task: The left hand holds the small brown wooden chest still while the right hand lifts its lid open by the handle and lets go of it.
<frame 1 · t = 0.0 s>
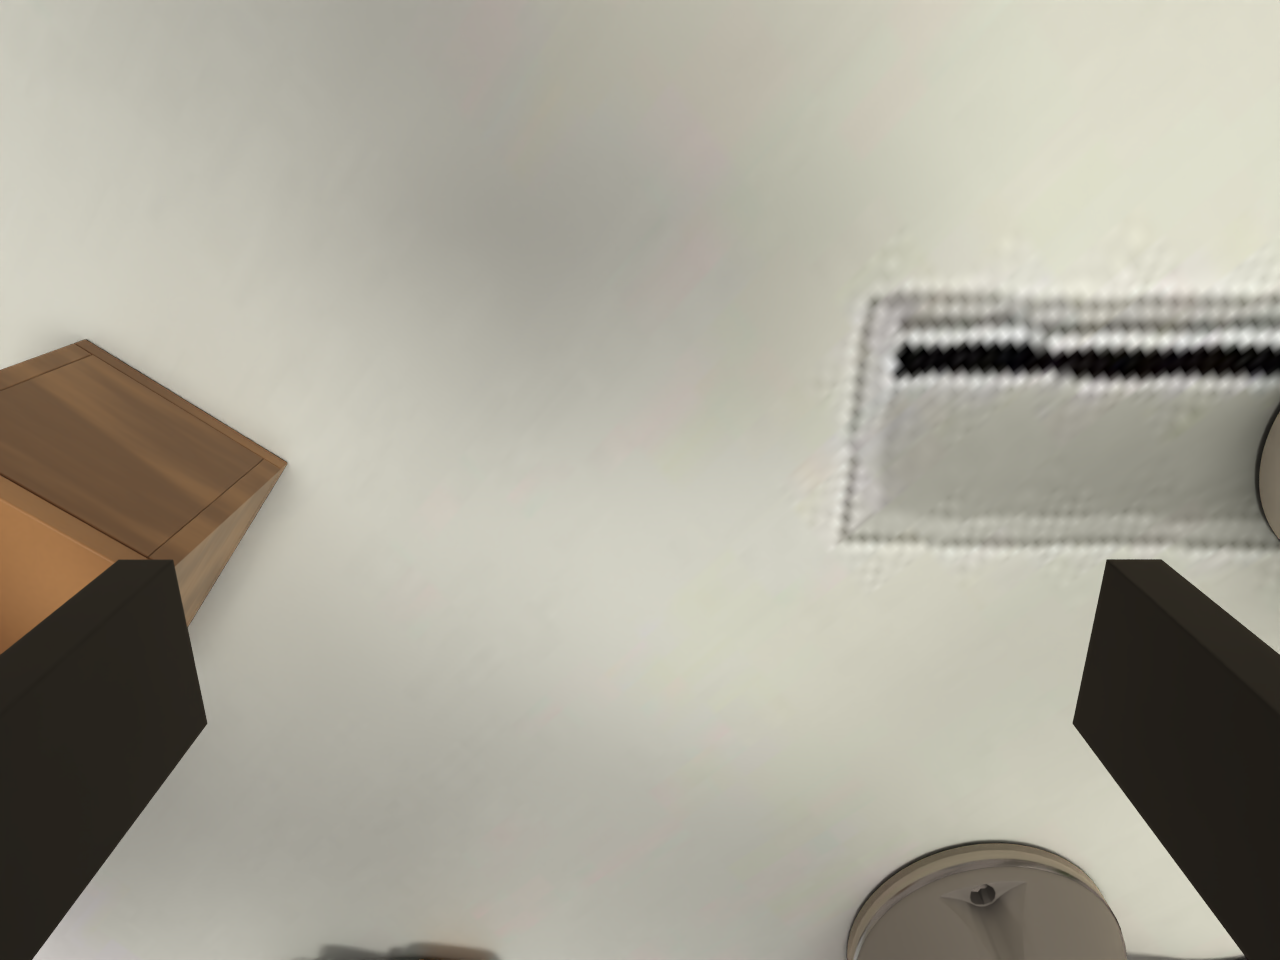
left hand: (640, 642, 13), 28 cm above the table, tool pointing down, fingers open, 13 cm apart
chest: (130, 509, 42), on the table
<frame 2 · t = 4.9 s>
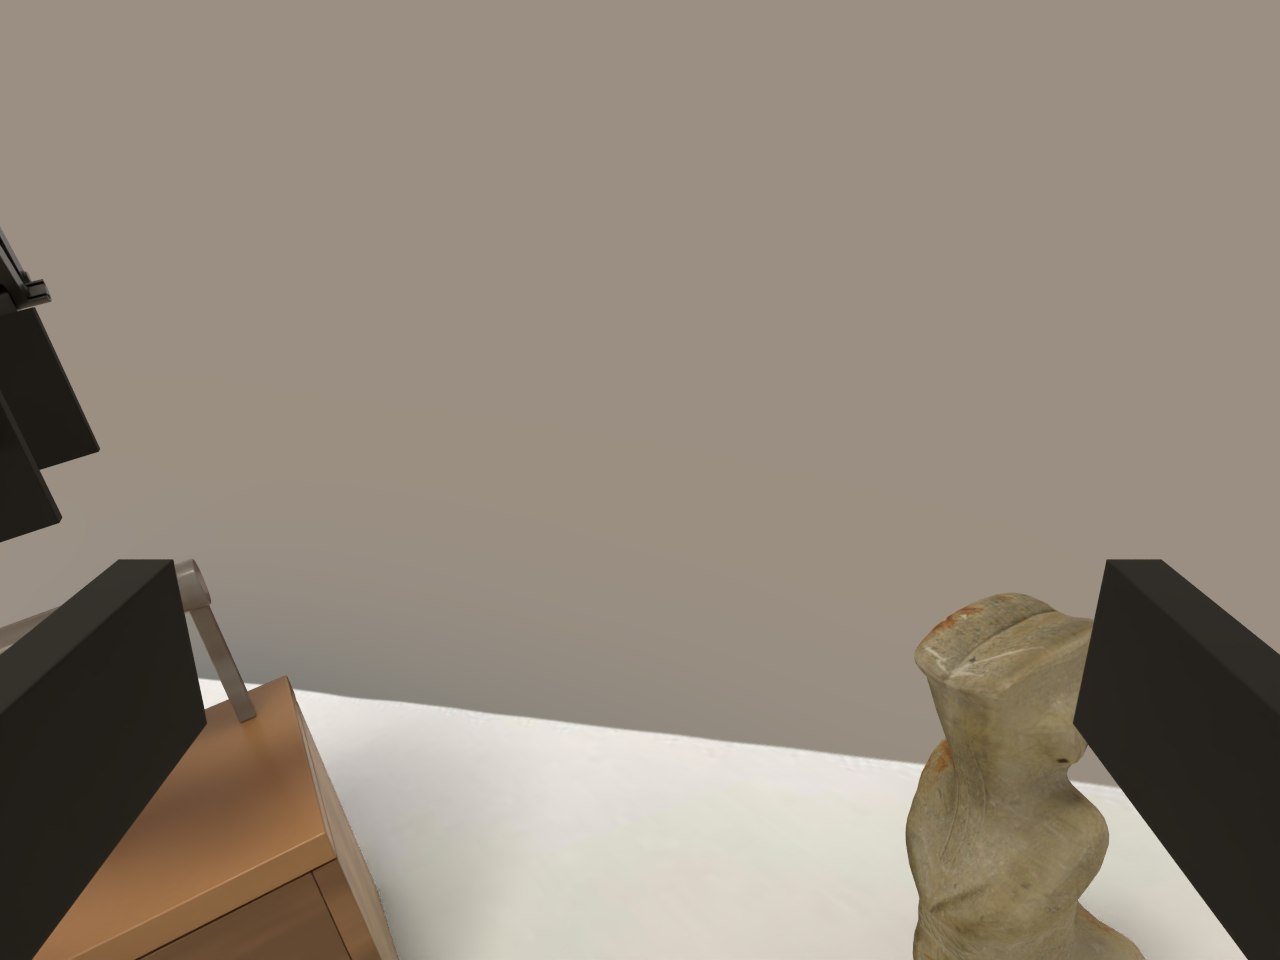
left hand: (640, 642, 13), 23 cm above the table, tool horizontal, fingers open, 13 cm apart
lid: (133, 731, 32), point 15 cm above the table, hinge at 0.0°
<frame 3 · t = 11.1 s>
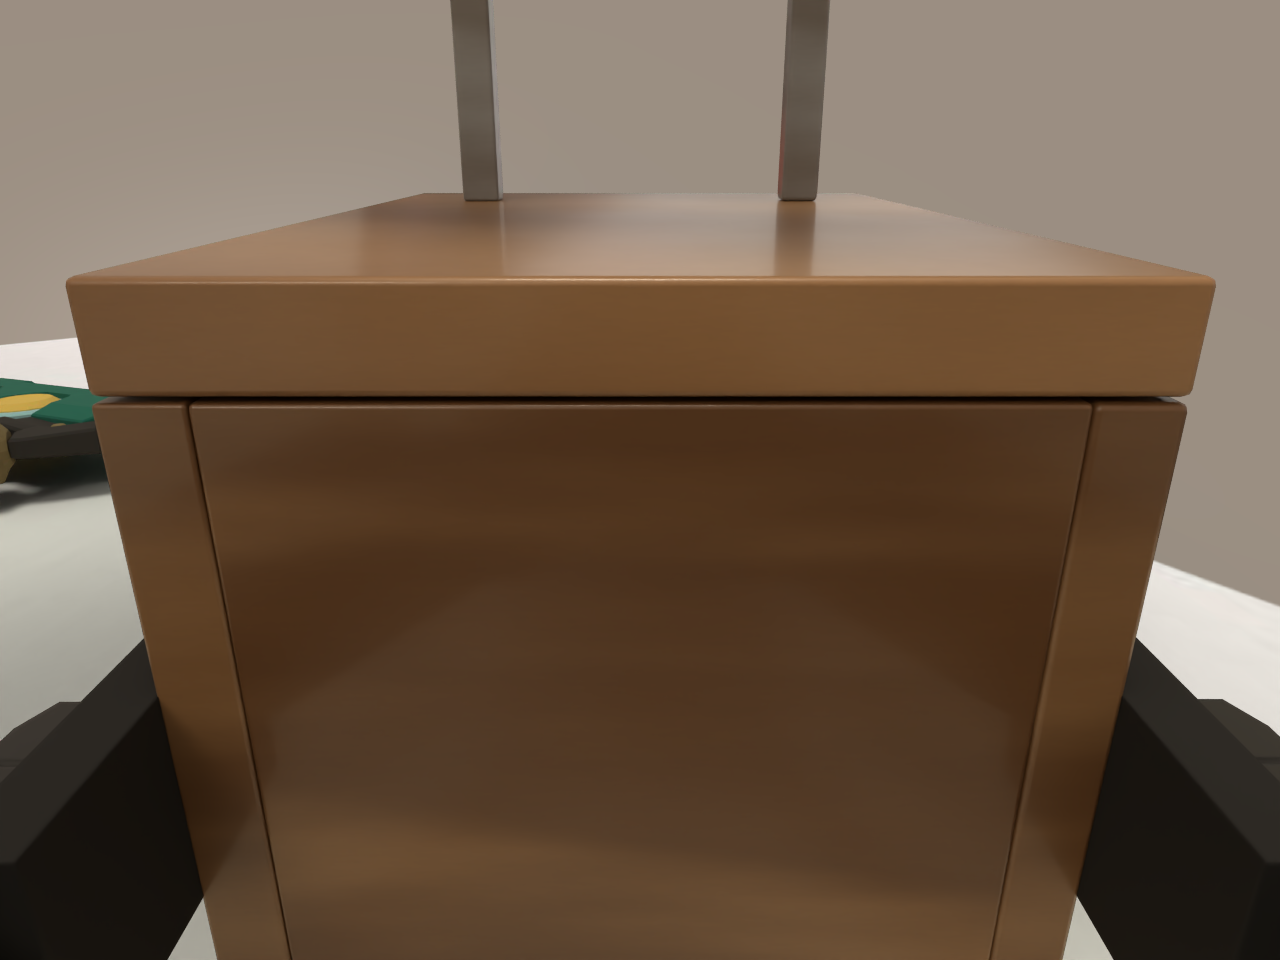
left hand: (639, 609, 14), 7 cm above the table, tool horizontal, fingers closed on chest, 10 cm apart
chest: (640, 839, 18), on the table, touching left hand
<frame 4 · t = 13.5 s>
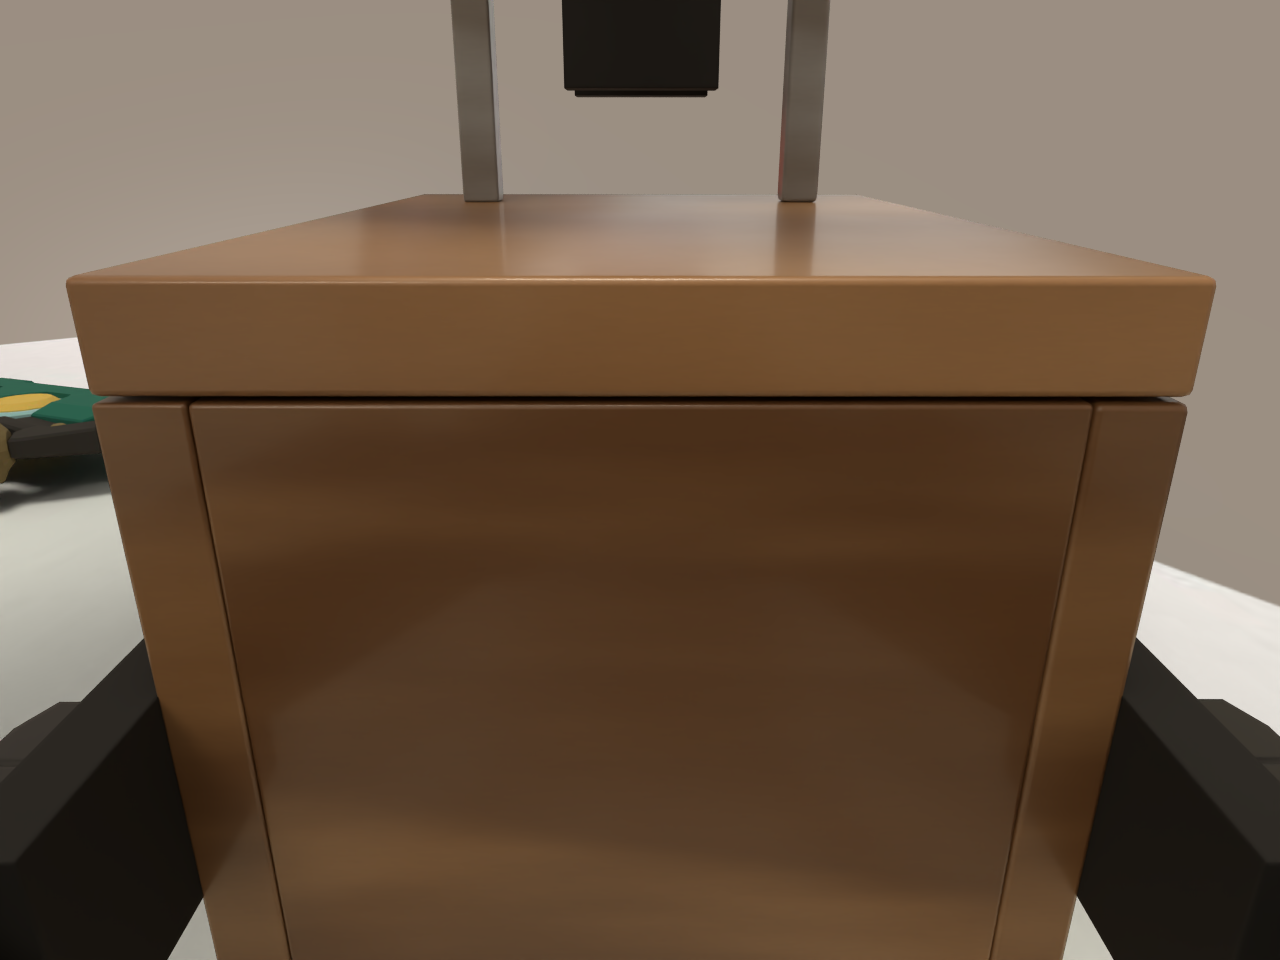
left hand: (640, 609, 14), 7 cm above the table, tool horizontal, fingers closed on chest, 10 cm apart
chest: (640, 839, 18), on the table, touching left hand
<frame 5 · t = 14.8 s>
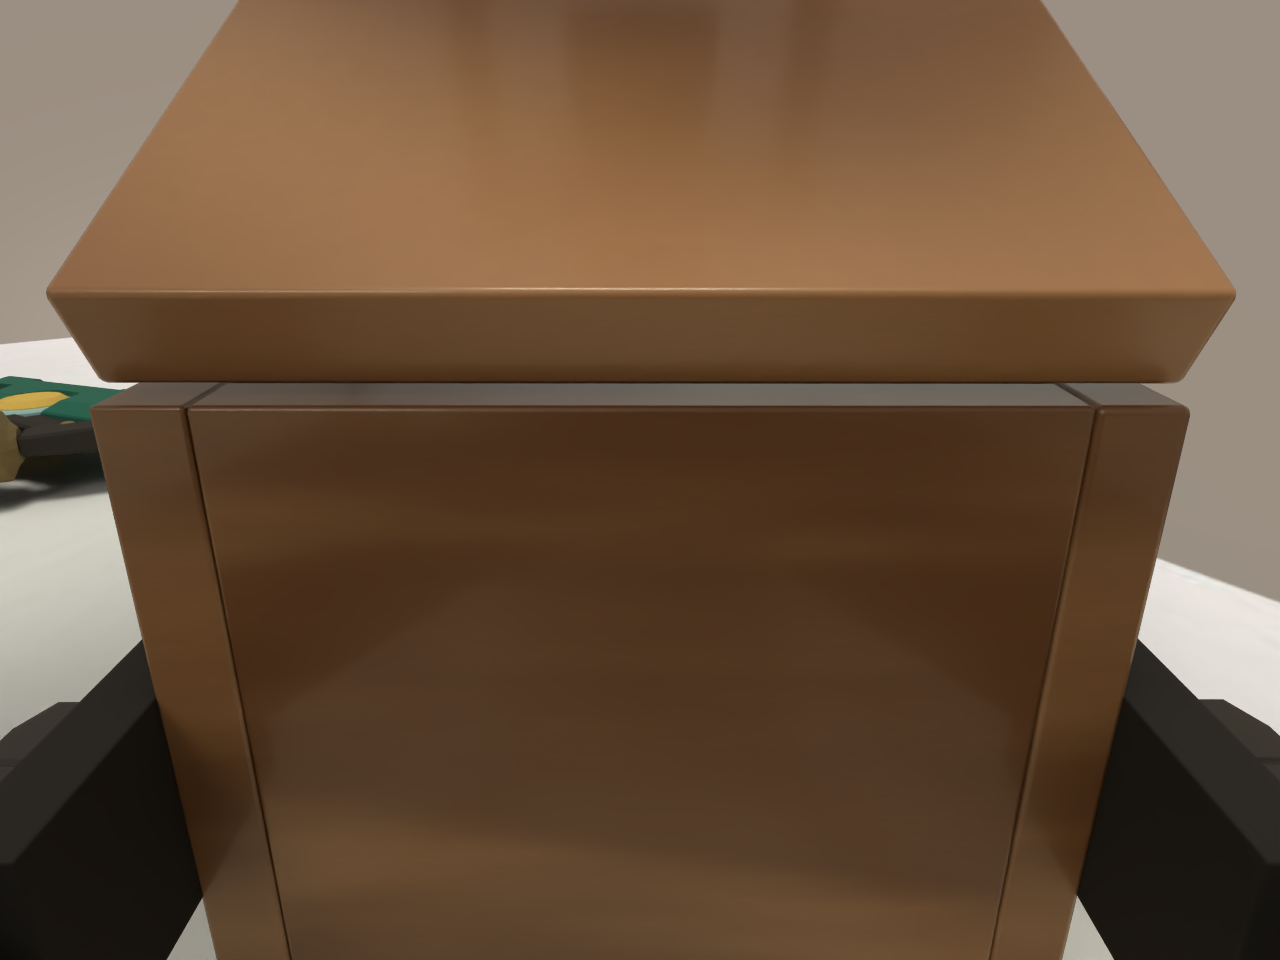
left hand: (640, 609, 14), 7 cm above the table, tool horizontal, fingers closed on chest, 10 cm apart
chest: (639, 837, 18), on the table, touching left hand
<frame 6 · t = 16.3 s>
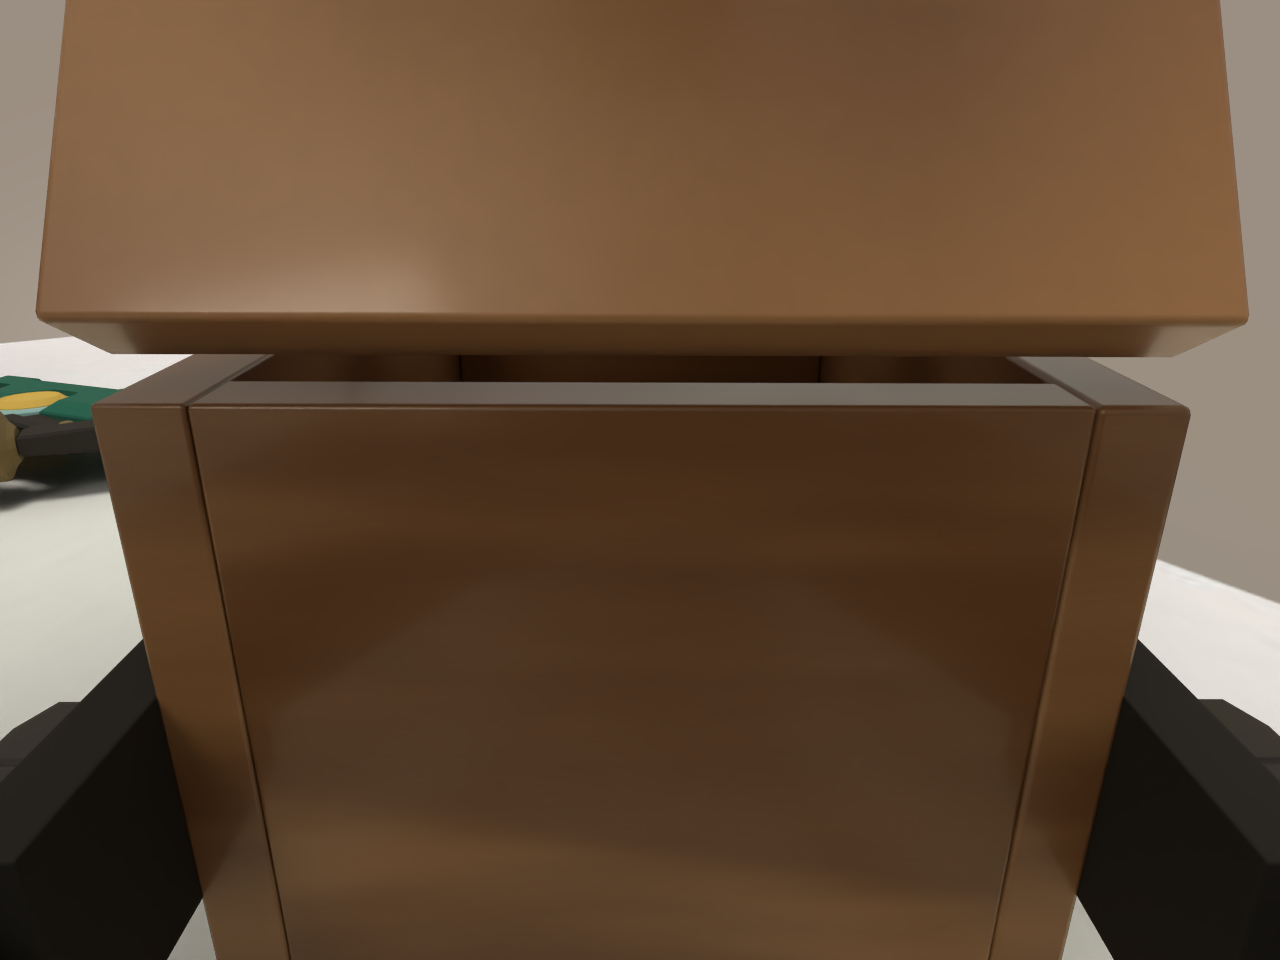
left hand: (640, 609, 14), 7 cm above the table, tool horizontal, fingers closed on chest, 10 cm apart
chest: (639, 837, 18), on the table, touching left hand
when the left hand's fingers open (7 cm above the table, at t = 20.2 s): chest stays where it is, on the table.
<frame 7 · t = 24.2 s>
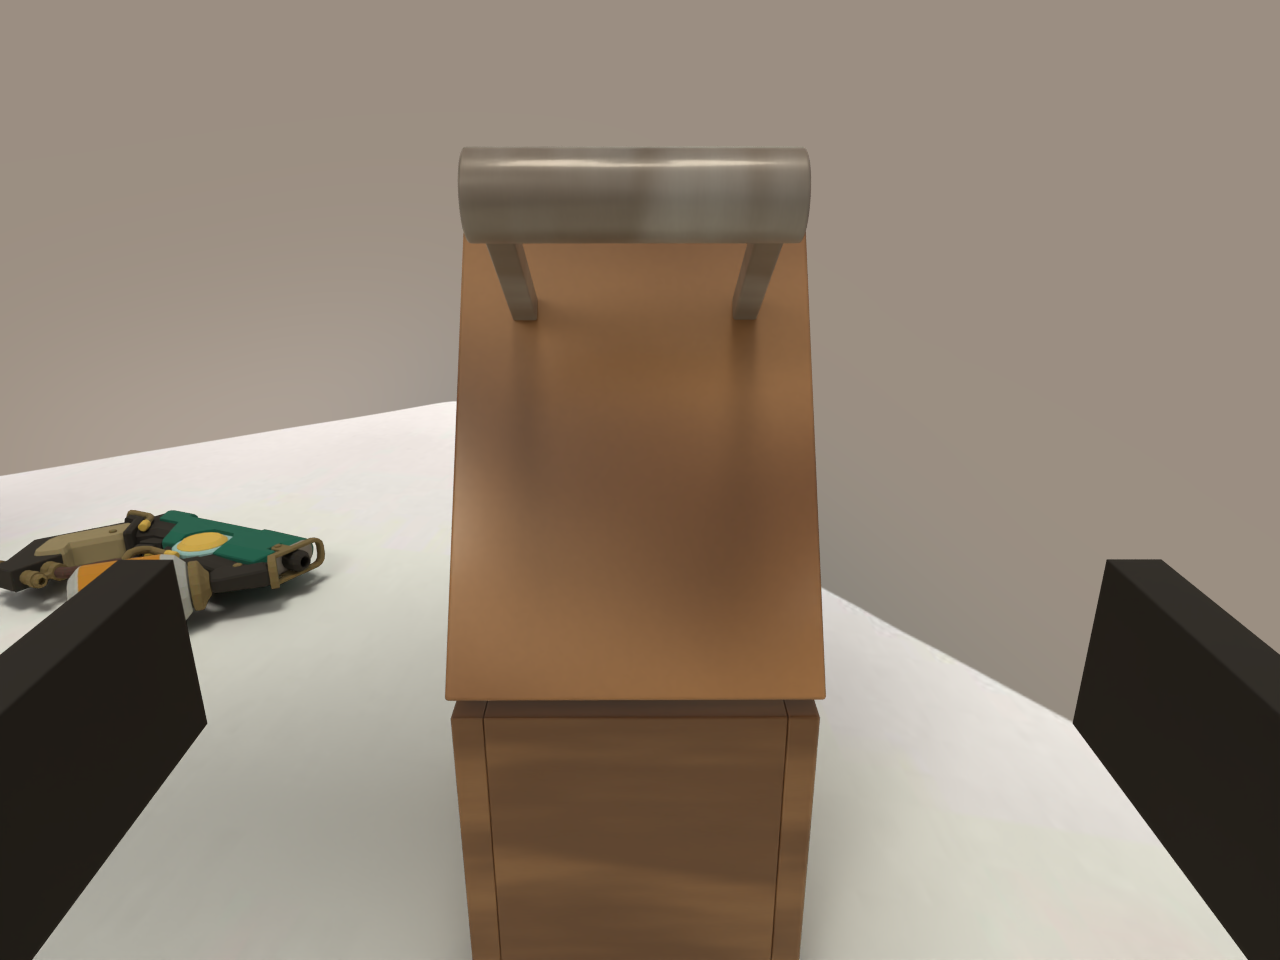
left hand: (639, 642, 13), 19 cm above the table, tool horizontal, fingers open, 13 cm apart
chest: (636, 856, 34), on the table
lid: (635, 418, 22), point 19 cm above the table, hinge at 57.7°
spray gun: (163, 586, 55), on the table
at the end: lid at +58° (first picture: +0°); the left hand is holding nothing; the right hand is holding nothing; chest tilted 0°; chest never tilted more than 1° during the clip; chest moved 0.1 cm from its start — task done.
